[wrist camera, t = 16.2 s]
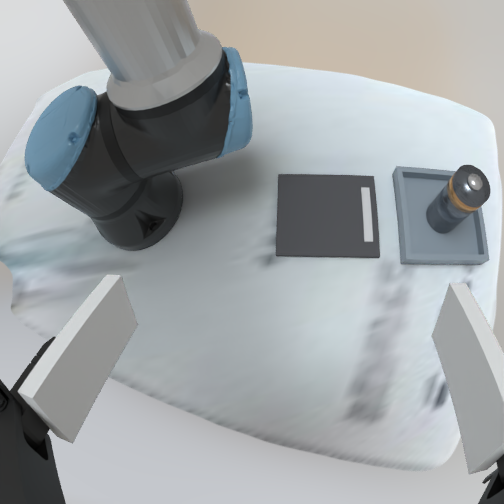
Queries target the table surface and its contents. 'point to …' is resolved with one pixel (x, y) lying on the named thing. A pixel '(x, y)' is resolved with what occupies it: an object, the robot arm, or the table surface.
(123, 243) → the robot arm
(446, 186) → the battery cell
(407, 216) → the tray
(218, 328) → the table surface
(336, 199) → the dark grey pad
